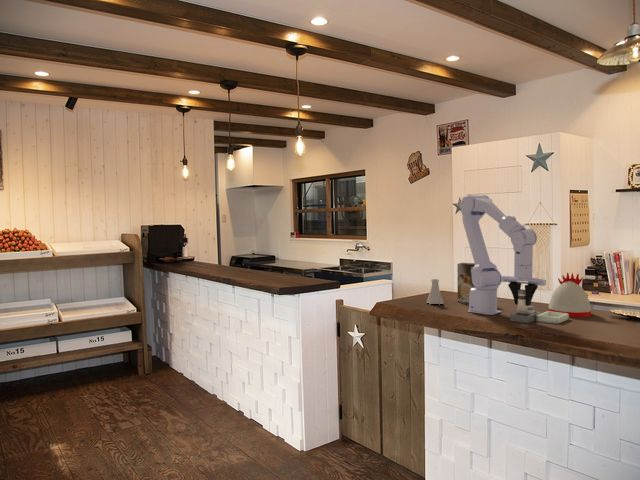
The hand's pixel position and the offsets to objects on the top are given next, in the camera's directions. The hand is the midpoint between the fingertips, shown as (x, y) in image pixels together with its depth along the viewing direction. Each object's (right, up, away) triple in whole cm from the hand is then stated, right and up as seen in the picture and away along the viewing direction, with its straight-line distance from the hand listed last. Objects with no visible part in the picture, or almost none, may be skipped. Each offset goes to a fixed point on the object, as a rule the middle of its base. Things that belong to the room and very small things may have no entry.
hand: (522, 304), depth 169 cm
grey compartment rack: (+2, -5, +2) cm, 6 cm away
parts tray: (+10, -5, 0) cm, 12 cm away
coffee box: (-6, -4, +38) cm, 38 cm away
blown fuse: (0, -3, 0) cm, 3 cm away
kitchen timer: (+22, -5, +13) cm, 26 cm away
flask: (-22, -4, +34) cm, 41 cm away
